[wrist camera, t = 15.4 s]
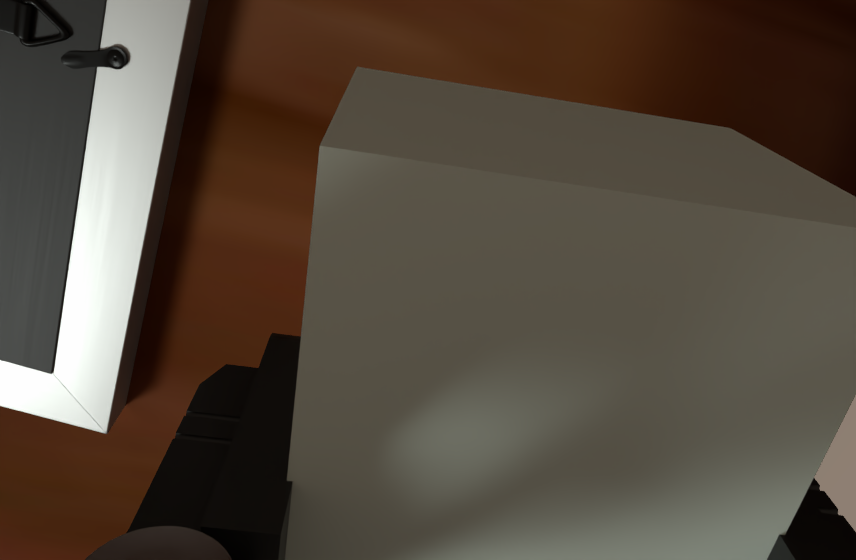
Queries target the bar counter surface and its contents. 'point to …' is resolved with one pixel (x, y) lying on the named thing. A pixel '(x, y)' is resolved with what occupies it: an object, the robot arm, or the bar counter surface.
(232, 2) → the bar counter surface
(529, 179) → the blank block
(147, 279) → the picture frame
